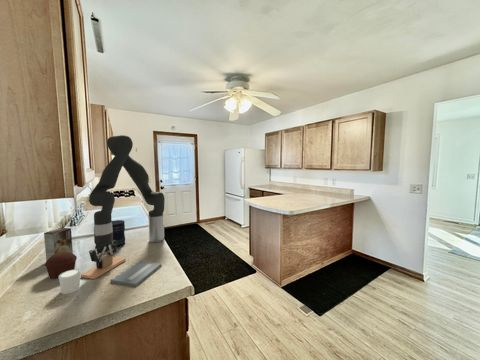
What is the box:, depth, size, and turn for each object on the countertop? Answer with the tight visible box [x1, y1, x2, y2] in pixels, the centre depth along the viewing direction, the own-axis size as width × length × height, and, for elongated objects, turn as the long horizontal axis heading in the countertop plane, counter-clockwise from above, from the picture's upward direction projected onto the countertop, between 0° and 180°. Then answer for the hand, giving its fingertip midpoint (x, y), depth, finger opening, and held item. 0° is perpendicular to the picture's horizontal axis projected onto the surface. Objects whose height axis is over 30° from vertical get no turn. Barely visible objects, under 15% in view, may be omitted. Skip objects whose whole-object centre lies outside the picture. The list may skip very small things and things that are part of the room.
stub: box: [80, 254, 127, 280], centre depth 98 cm, size 18×8×6 cm, turn 167°
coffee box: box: [43, 227, 74, 262], centre depth 107 cm, size 9×6×16 cm
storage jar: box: [112, 219, 126, 249], centre depth 126 cm, size 10×10×15 cm
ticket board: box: [109, 260, 162, 288], centre depth 94 cm, size 18×13×1 cm
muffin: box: [43, 252, 77, 280], centre depth 93 cm, size 12×11×10 cm
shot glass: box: [58, 268, 81, 295], centre depth 82 cm, size 7×7×7 cm
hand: (104, 265), depth 98 cm, fingers open, 5 cm apart
